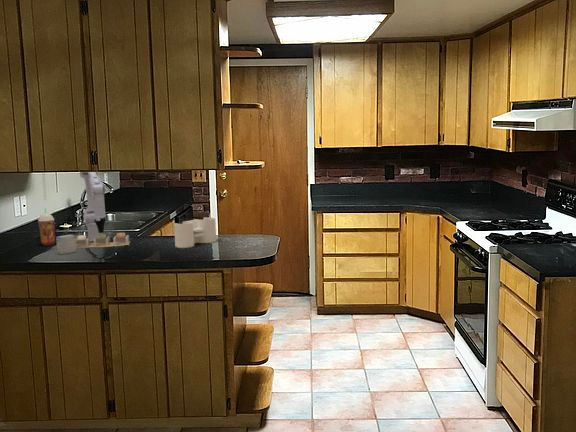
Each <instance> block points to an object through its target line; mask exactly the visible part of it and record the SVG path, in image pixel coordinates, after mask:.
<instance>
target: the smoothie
mask: <svg viewBox="0 0 576 432" xmlns="http://www.w3.org/2000/svg"><path fill="white" fill-rule="evenodd" d="M37 221H38V222H37V223H38V229H39V235H40V241H41V242H40V243H41V244H42V245H43V246H52V245H55V243H56V242H55V241H56V233H55V232H56V229H55V227H56V226H55V218H54V217H53V215H52V214H51V213H49V212H47V209H46V207H44V213H42V214H40V215H39V217H38V219H37Z"/></svg>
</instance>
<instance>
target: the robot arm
mask: <svg viewBox="0 0 576 432" xmlns="http://www.w3.org/2000/svg"><path fill="white" fill-rule="evenodd" d="M98 174H99V171H98V172H80V171H79V175H80V177H81V178H83V180H84V184H85V192H86V199H87V208H85V209H84V210H83V221H84V225H87V236H88V237H87V238H90V242H94V238H95V237H97V235H98V234H104V230H105V223H106V220H107V218H106V217H107V216H106V207H105V195H106V189H105V184H104V183H103V182H102V180H101V178H100V176H99V175H98Z"/></svg>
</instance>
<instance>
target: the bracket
mask: <svg viewBox="0 0 576 432" xmlns="http://www.w3.org/2000/svg"><path fill="white" fill-rule="evenodd" d="M216 227H217V226H216V218H215V217H203V219H191V220H186V221H182V223H173V228H174V229H173V230H174V245H175V248H179V249H187V248H193V247H195V244H197V243H198V244H209V243H210V244H211V243H215V242H217V228H216Z"/></svg>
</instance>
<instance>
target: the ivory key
mask: <svg viewBox="0 0 576 432" xmlns="http://www.w3.org/2000/svg"><path fill="white" fill-rule="evenodd" d="M76 237H77V239H78V240H86V238H87V235H86V234H83V235H82V234H81V235H80V234H79V235H76Z"/></svg>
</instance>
